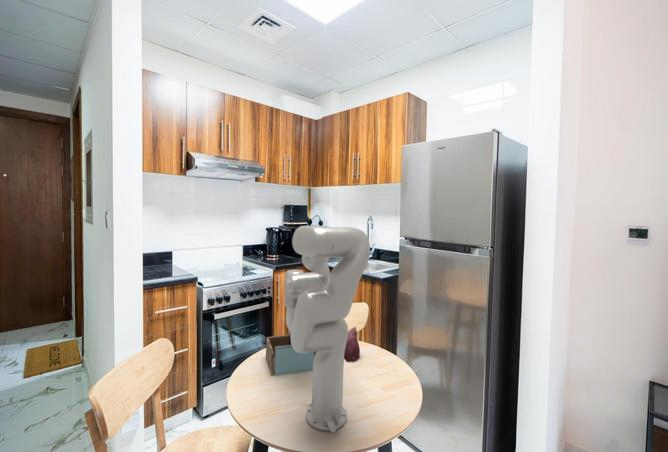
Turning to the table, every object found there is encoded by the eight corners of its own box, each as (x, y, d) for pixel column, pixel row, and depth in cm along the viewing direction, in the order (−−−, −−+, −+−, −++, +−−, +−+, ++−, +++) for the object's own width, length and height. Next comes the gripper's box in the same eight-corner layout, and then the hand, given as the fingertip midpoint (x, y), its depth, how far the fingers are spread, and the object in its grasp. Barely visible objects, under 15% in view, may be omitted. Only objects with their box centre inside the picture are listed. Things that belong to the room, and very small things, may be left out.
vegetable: (358, 359, 139) (367, 327, 140) (357, 367, 129) (367, 333, 130) (336, 351, 140) (345, 320, 141) (334, 359, 130) (344, 325, 131)
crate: (316, 371, 121) (317, 347, 120) (271, 379, 115) (271, 353, 114) (306, 354, 135) (307, 332, 134) (265, 360, 129) (266, 337, 128)
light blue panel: (313, 369, 120) (314, 343, 120) (275, 375, 115) (275, 347, 115) (312, 368, 121) (313, 341, 121) (274, 373, 116) (275, 346, 116)
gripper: (308, 306, 115) (307, 353, 115) (298, 295, 129) (297, 338, 129) (288, 307, 112) (287, 356, 113) (281, 296, 126) (280, 340, 127)
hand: (293, 346), depth 121 cm, fingers closed
